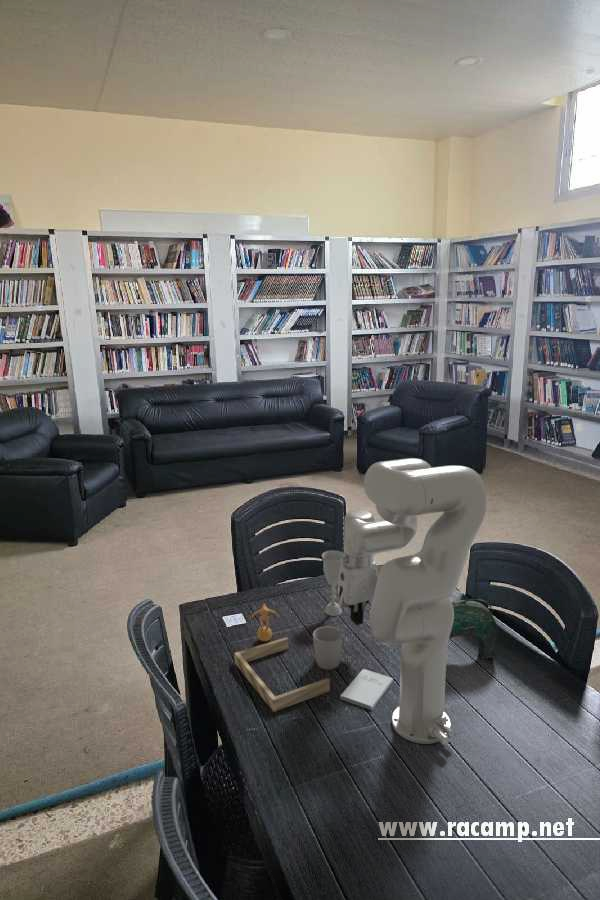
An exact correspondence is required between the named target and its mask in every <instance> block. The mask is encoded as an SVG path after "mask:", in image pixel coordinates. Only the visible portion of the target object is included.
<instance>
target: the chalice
mask: <svg viewBox="0 0 600 900" xmlns="http://www.w3.org/2000/svg"><path fill="white" fill-rule="evenodd" d="M343 555H344V551H341V550H336V549H335V550H334V549H331V550H326V551H323V553H322V554H321V558H322V559H323V560H322V562H323V568H322V569H323V574H324V576H325V578H326V579H325V580H326V581H327V583H328V585H330V586H331V589H330V593H331V595H330V598H331V602H329V603H328V604H327V606H326V608H325V610H324V613H325V614H326V615H328V616H330V617H331V616H332V617H334V616H335V617H336V616H340V615H341V614H342V613H343V610H342V609H341V608H342V607H341V606H340V605H339V602H336V598H337V595H336V592H337V590H336V586H337V585H338V582H339V574H340V569H341V565H342V563H341V562H340V559H341V558H343Z"/></svg>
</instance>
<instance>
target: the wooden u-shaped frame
mask: <svg viewBox="0 0 600 900" xmlns="http://www.w3.org/2000/svg"><path fill="white" fill-rule="evenodd" d="M288 649H289V638H288V637H287V636H285V637H282V638H279V639H276V640H273V641H269V642H266V643H263V644H260V645H257V646H253V647H250V648H245V649H243V650H239V651H237V652H234V664H235V666H236V667H238V669H239V671H240V672H241V673H242V674H243V675H244V677H245V678H246V680H247V681H248V682H249V683H250V684H251V686H252V687H253V688H254V689H255V690H256V692H257V693H258V694H259V696H260V697H261V698H262V699H263V701H264V702H265V703H266V704H267V706H268V707H269V708H270V709H271V711H272V712H274V713H275V712H277V711H280V710H282V709H285V708H287V707H291V706H294V705H296V704H299V703H301V702H302V703H303V702H304V701H307V700H310V699H313V698H315V697H319V696H322V695H324V694H327V693H329V692H330V691H331V690H330V689H331V688H330V687H331V681H330V678H328V677H326V678H323V679H320V680H318V681H315V682H313V683H310V684H307V685H304V686H301V687H298V688H296V689H293V690H290V691H287V692H284V693H282V694H279V695H275V694H273V692H272V691H271V689H269V687H268V686H267V685H266V684H265V682H264V681H263V680H262V679H261V678H260V676H259V675H258V674H257V673H256V671H255V670H254V669H253V668H252V667H251V666H250V665H249V663H248V662H251V661H256V660H258V659H261V658H264V657H267V656H270V655H274V654H277V653H280V652H283V651H287V650H288Z"/></svg>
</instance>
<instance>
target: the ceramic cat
mask: <svg viewBox="0 0 600 900" xmlns="http://www.w3.org/2000/svg"><path fill="white" fill-rule="evenodd" d="M456 590H457V591H458V592H459V593H460V592H461V590H460V589H459V588H457V587H456V589H455V591H456ZM451 602H452V604H453V608H454V621H453V626H452V629H451V633H450V637H449V640H450V639H451V638H455V637H459V636H460V637H461V636H471V637H473V638H475V639H476V640H477V641H478V650H477V651H478V652H479V653H478V654H480V655H479V656H480V658H481V657H483V658H492V657H493V658H494V655H495V651H496V650H495V649H496V646H497V642H498V634H499V633H498V624H497V622H496V621H495V618H494V616H493V614H494V610H493V607H492V605H491V604H490V603H489V602H488V601H487V600H483V599H478V598H469V599H463V600H462V599H461V600H454V601H453V600H452V601H451ZM482 603H485V604H486V605H487V606H489V608H490V610H489V608H488V607H486V606H485V605H484V604H482ZM493 658H492V659H493Z"/></svg>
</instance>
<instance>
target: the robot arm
mask: <svg viewBox="0 0 600 900" xmlns="http://www.w3.org/2000/svg"><path fill="white" fill-rule="evenodd" d="M485 487H486V486H485V484H484V481H483V479H482V478H481V476H480V474H479V473H478V472H477V471H476V470H474V469H473V468H470V467H468V466H464V465H441V466H433V467H432V466H431V465H430V464H429V463H428V461H425V460H423V459H421V458H413V457H409V458H401V459H400V458H399V459H391V460H384V461H377V462H375V463H373V464H372V465H371V466H369V467H368V469H367V471H366V472H365V475H364V479H363V488H364V492H365V494H366V496H367V498H368V499H369V501H370V502H372V503H373V504H375V510H376V512H377V514H378V515H379V517H380V518H382V520H375V516H374V514H373V513H372V512H370V511H368V510H365V509H352V510H350V511H348V512H346V513H345V516H344V529H343V530H344V531H343V532H344V533H343V553H344V555H343V558H341V559H340V562H341V563H342V565H341V569H340V574H339V582H338V584H337V585H338V586H337V587H338V588H337V595H338V598H339V602H338V604H339V606H340V608H349V609H350V621H351V622H353V623H354V624H355V625H356V626H359V625H363V623H364V611H365V610H366V608H367V605H368V603H369V602H370V601H371V600H372V601H371V606H370V611H369V624H370V625H369V626H370V630H371V633H372V635H373V637H374V638H375V640H376V641H377V642H379V643H380V644H381V645H384V646H397V645H402V646H401V650H400V651H401V652H400V669H399V670H400V673H399V674H400V675H399V703H398V705H399V706H397V707H396V708H395V709H394V710H393V712H392V714H391V715H392V716H391V724H392V729H394V731H395V732H396V734H398V735H399V736H400V737H402V738H403V739H405V740H407V741H408V742H412V743H415V744H421V745H429V744H430V745H431V744H436V743H438V742H439V743H440V744H441V745H442V746H447V745H448V744H449V742H450V737H452V736H453V735H454V733H455V732H454V730H453V729H452V728H451V726H452V724H451V720H450V718H449V716H448V715H447V713H446V712H445V694H446V679H447V678H446V677H447V674H446V673H447V661H448V648H449V647H448V646H449V641H450V639H449V637H450V633H451V629H452V626H453V621H454V608H453V604H452V602H453V601H452V600H451V598H450V597H451V596H452V595H453V594H454V593H455V592H456V588H457V587H458V586H459V582H460V579H461V575H462V574H463V573H462V572H463V570H464V567H465V565H466V562H467V558H468V554H469V551H470V550H471V546H472V544H473V542H474V540H475V539H476V536H477V535H478V533H479V531H480V528H481V526H482V524H483V521H484V519H485V515H486V509H487V493H486V488H485ZM440 512H441V513H442V512H443V513H442V514H441V515H440V516H439V517H438V518H437V520H435V521H434V523H433V524H431V526H430V527H429V529H428V531H427V533H426V535H425V537H424V541H423V544H422V547H421V548H420V551H418V552H417V553H414V554H410V555H404V556H399V557H395V558H393V559H390V560H388V561H387V562H386V563H384V564H383V565H382V567H381V568H380V570H379V571H378V566H377V562H376V560H374V555H375V554H379V553H384V552H391V551H397V550H400V549H403V548H404V547H407V545H409V544H410V543H411V541H412V540H413V538H414V537H415V536H416V533H417V531H418V517H417V516H421V515H428V514H435V513H440Z"/></svg>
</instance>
